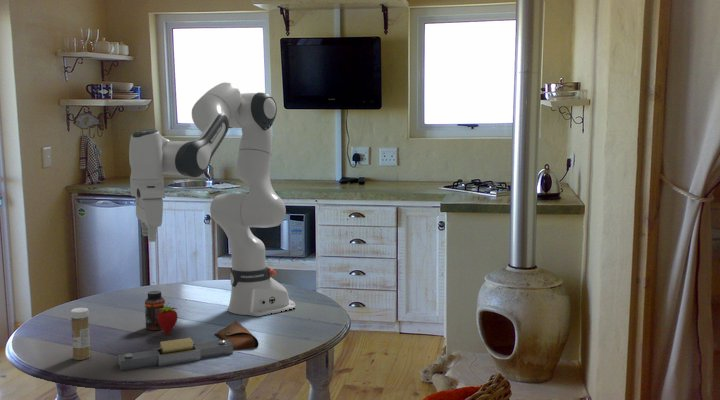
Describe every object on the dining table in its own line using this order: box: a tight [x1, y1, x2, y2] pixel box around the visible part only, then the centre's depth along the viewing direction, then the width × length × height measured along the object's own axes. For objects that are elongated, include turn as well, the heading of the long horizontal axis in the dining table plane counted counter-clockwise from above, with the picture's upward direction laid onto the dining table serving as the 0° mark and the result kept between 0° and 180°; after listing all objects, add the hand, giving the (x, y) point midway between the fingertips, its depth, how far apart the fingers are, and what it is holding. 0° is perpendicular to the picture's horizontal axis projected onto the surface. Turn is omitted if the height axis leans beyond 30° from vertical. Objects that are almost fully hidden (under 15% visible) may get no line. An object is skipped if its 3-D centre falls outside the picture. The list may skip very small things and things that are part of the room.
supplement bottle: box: [144, 290, 166, 331], centre depth 220 cm, size 6×6×11 cm
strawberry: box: [157, 302, 178, 335], centre depth 214 cm, size 6×8×10 cm
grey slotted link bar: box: [117, 339, 234, 371], centre depth 194 cm, size 30×7×3 cm, turn 116°
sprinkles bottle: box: [69, 307, 91, 361], centre depth 194 cm, size 5×5×13 cm
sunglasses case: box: [213, 319, 260, 352], centre depth 209 cm, size 18×7×7 cm, turn 28°
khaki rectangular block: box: [159, 337, 194, 355], centre depth 194 cm, size 8×3×5 cm, turn 116°
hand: (149, 238), depth 200 cm, fingers open, 8 cm apart
